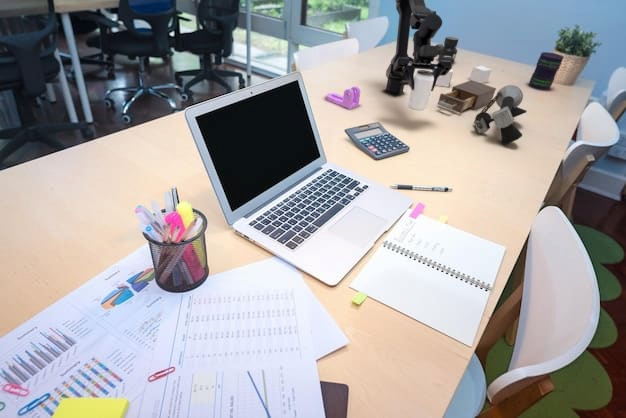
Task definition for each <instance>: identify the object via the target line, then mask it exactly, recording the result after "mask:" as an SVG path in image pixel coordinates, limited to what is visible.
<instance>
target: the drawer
mask: <svg viewBox="0 0 626 418" xmlns="http://www.w3.org/2000/svg"><path fill="white" fill-rule="evenodd" d="M475 100H476V96H473V95H470V94H467V93H464V92H461V91H458V90H454V91H452V90H451V91H448V92H446V93H440V95H439V98H438V102H437V105H439V106H442V107H444V108H446V109H449V110H451V111H455V112H457V113H459V114H461V113H463V111H464V110H466V109H470V108H469V107H471V106H473V105H474V102H475Z"/></svg>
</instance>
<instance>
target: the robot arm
mask: <svg viewBox="0 0 626 418" xmlns="http://www.w3.org/2000/svg"><path fill="white" fill-rule="evenodd" d="M395 9H396V11H397V14H398V27H397V34H396V35H397V37H396V47H395V53H394V56H393V57H392V58H391V59H390V64H389V65H388V67H387V69H386V71H385V77H386V78H387V81H386V87H385V89H383V92H384V93H387V94H389V95H392V96H393V97H394V96H395V97H397V96H399V95H402V94H404V93H405V92H404V89H405V84H404V80H407V81H408V83H409V84H408V85H409V87H410V89H412V90H414V77H415V75H414V74H415V71H414V69H415V70H426V71H431V72H432V73H434V81H433V85H432V89H431V92H434V89H435V87H436V85H435V84H436V81H437V78H438V77H439V76H440V75H441V76H444V75H446V74H447V73H448V72H449V71H450V70H451V69H452V70H453V66H452V63H451V61H446V60H440V61H439V60H438V62H437V63H432V62H434V60H435V58H438V56H439V55H442V53H443V46H444V43H443V44H441V43H438V44H436V45H432V39H433V38H434V37H435V36H436V34H437V33H438V32H439V30H440V28H441V27H442V26H443V19H442V18H441V16H440V15H438V14H437V11H436V10H431V9H430V8H429V7H427V5H426V2H425V0H395ZM410 30H415V32H414V33H413V36H412V37H413V38H412V42H413V52H412V57H413V59H414V62H412V61H411V58H412V57H411V56H409V54H408V51H409V41H410V32H411V31H410ZM410 57H411V58H410ZM413 72H414V74H413Z"/></svg>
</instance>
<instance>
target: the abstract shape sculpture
mask: <svg viewBox="0 0 626 418" xmlns="http://www.w3.org/2000/svg"><path fill="white" fill-rule="evenodd" d="M523 100H524V94H523V91H522V89H521V88H520V87H519V86H517V85H513V84H509V85H504V86H503V87H501V88H499V90H498V91H497V93H496V95H494V96H493V98H492V100H491V102H490V103H488V104H486V105H485V106H483V107H484V108H483V109H482V110H481V111H480V112H479V113H477V114H476V116H475V119H474V121H473V124H474V126H475V128H476V130H477V133H478V135H480V134H482V133H485V132H487V131H489V130H490V129H491V126H490V124H491V123H492V122H494V123H495V126H496V128H497V129H498V130H500V139H501V144H502V145H508V144H510V143H514V142H515V141H517V140H519V139H520V138H522V137H523V133H522V132H521V131H520V130H519V129H518V128H517V126H515V124H514V121H515V120H514V119H515V118H516V117H519V116H522V115H523V114H526V113H527V110H526V109H523V108H521V107H519V106H520V105H521V103H522V101H523ZM495 103H496V105H497V106H498V107H499V109H497V110H495V111H493V113H492V114H490V113H488V110H489V109H490V108H492V106H493V105H494V104H495ZM491 115H492V116H491Z"/></svg>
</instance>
